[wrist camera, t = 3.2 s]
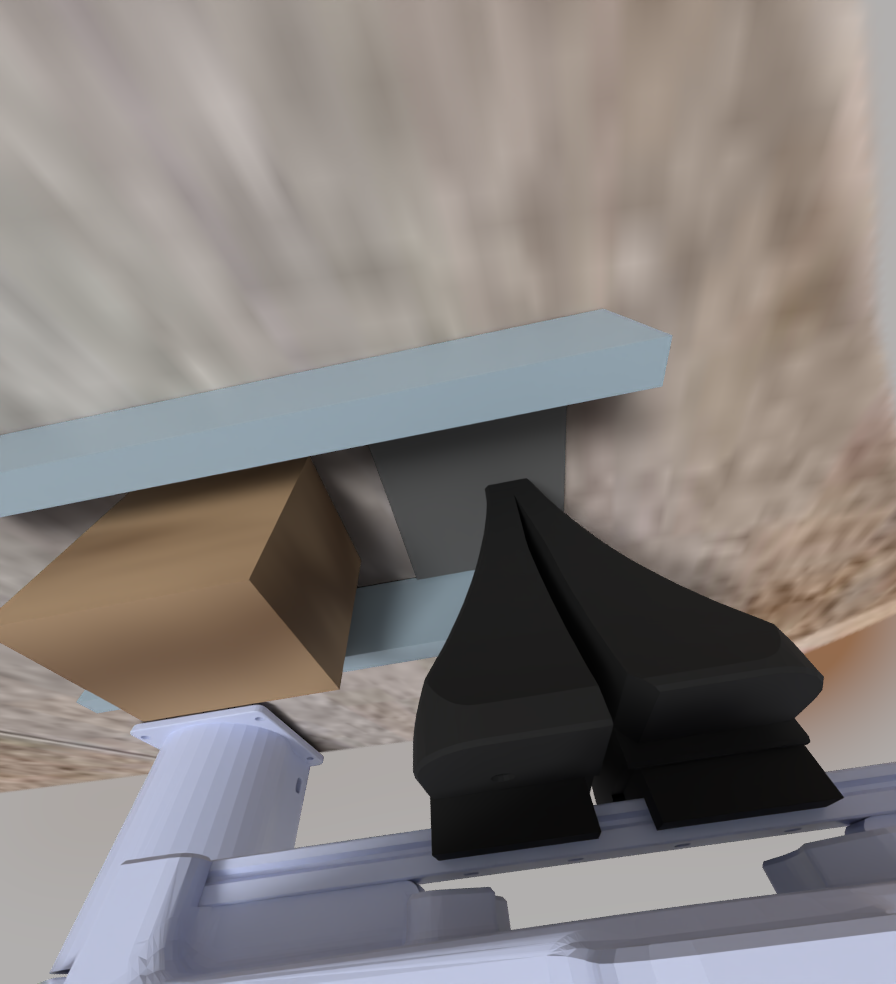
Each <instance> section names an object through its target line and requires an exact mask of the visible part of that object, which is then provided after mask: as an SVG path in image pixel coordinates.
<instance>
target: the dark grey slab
mask: <svg viewBox="0 0 896 984" xmlns="http://www.w3.org/2000/svg"><path fill="white" fill-rule="evenodd" d="M566 412H567V405H565V406H560V407H555V408H550V409H545V410H540V411H535V412H530V413H525V414H520V415H515V416H510V417H505V418H500V419H494V420H489V421H484V422H479V423H474V424H469V425H464V426H459V427H454V428H449V429H444V430H439V431H434V432H429V433H424V434H419V435H414V436H409V437H403V438H398V439H393V440H388V441H383V442H378V443H373V444H368V445H369V448H370V451H371V453H372V456H373V459H374V462H375V465H376V467H377V470H378V473H379V476H380V478H381V481H382V484H383V487H384V489H385V492H386V495H387V498H388V500H389V503H390V506H391V509H392V511H393V514H394V517H395V520H396V522H397V525H398V528H399V531H400V534H401V536H402V539H403V542H404V545H405V547H406V550H407V553H408V556H409V558H410V561H411V564H412V567H413V569H414V572H415V575H416V578H417V580H420V579H426V578H431V577H437V576H443V575H448V574H454V573H459V572H465V571H471V570H475V568H476V565H477V561H478V557H479V554H480V549H481V544H482V540H483V535H484V528H485V520H486V509H487V502H486V495H485V488H486V487H487V486H488V485H492V484H497V483H503V482H508V481H513V480H519V479H524V478H527V479H529V480H530V481H531V482H532V483H533V484H534V485H535V486H536V487H537V488H538V489H539V490H540V491H541V492H542V493H543V494H544V495H545V496H546V497H547V498H548V499H549V500H550V501H552V502H553V503H554V504H555V505H556V506H557V507H558V508H559V509H561V510H562V511H563V512H564V480H565V446H566Z"/></svg>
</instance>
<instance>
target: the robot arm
mask: <svg viewBox="0 0 896 984" xmlns="http://www.w3.org/2000/svg"><path fill="white" fill-rule="evenodd" d="M485 495H486V502H487V509H486V520H485V528H484V535H483V540H482V544H481V549H480V554H479V557H478V561H477V565H476V568H475V572H474V575H473V578H472V581H471V584H470V587H469V589H468V592H467V595H466V597H465V600H464V603H463V605H462V608H461V610H460V612H459V614H458V617H457V619H456V621H455V623H454V625H453V627H452V629H451V632H450V634H449V636H448V638H447V640H446V642H445V644H444V646H443V648H442V650H441V651H440V653H439V655H438V657H437V659H436V660H435V662H434V664H433V666H432V668H431V669H430V671H429V673H428V675H427V677H426V678H425V680H424V684H423V688H422V692H421V696H420V700H419V705H418V710H417V714H416V721H415V728H414V738H413V773H414V776H415V778H416V779H417V781H418V782H419V783H420V784H421V786H422V787H423V788H424V790H425V791H426V792H427V793H428V795H429V796H430V800H431V801H430V804H431V829H425V830H419V831H411V832H404V833H397V834H390V835H383V836H376V837H369V838H362V839H355V840H348V841H341V842H334V843H327V844H320V845H314V846H306V847H299V848H294V845H295V840H296V835H297V830H298V825H299V820H300V815H301V810H302V805H303V800H304V795H305V790H306V785H307V780H308V775H309V770H310V766H316V765H320V764H322V763H323V759H324V757H323V755H322V754H320V753H319V752H318V751H317V750H316V749H314V748H313V747H312V746H311V745H310V744H309V743H307V742H306V741H305V740H304V739H303V738H301V737H300V736H299V735H298V734H297V733H296V732H294V731H293V730H292V729H291V728H290V727H288V726H287V725H286V724H285V723H284V722H283V721H281V720H280V719H279V718H278V717H277V716H275V715H274V714H273V713H272V712H271V711H270V710H268V709H267V708H266V707H265V706H262V705H250V706H244V707H238V708H232V709H225V710H219V711H213V712H207V713H201V714H195V715H189V716H183V717H177V718H171V719H165V720H159V721H153V722H146V723H140V724H136V725H135V726H134V727H133V728H132V730H131V732H130V733H131V735H132V736H134V737H136V738H138V739H140V740H142V741H144V742H146V743H148V744H150V745H152V746H154V747H156V748H158V749H160V752H159V754H158V756H157V758H156V760H155V762H154V764H153V766H152V768H151V770H150V772H149V774H148V776H147V778H146V780H145V782H144V784H143V786H142V788H141V790H140V792H139V794H138V796H137V798H136V800H135V802H134V804H133V806H132V808H131V810H130V812H129V814H128V816H127V818H126V820H125V822H124V824H123V826H122V828H121V830H120V832H119V834H118V836H117V838H116V840H115V842H114V844H113V846H112V848H111V850H110V852H109V854H108V856H107V858H106V860H105V862H104V864H103V866H102V868H101V870H100V872H99V874H98V876H97V878H96V880H95V882H94V884H93V887H92V888H91V891H90V892H89V894H88V897H87V898H86V900H85V902H84V904H83V907H82V908H81V910H80V912H79V914H78V916H77V918H76V921H75V923H74V925H73V927H72V929H71V931H70V933H69V935H68V937H67V939H66V941H65V943H64V945H63V947H62V949H61V951H60V953H59V955H58V957H57V959H56V961H55V963H54V965H53V967H52V969H51V971H50V974H68V976H67V977H61V978H51V979H49V980H46V981H43V982H41V983H38V984H896V762H891V763H884V764H877V765H870V766H864V767H856V768H849V769H843V770H836V771H828V772H824V770H823V769H822V768H821V766H820V765H819V764H818V763H817V761H816V760H815V758H814V757H813V756H812V754H811V753H810V752H809V751H808V749H807V748H806V747H805V745H807V744H808V743H810V739H809V736H808V735H807V733H806V732H805V731H804V730H803V728H802V727H801V726H800V725H799V724H798V722H797V721H796V720H795V717H796V716H797V715H798V714H799V713H800V712H802V710H804V709H805V708H806V707H807V706H808V705H809V704H810V703H811V702H812V701H813V700H814V699H815V698H816V697H817V696H818V695H819V693H820V692H821V691H822V688H823V680H824V676H823V675H822V674H821V673H820V672H819V671H818V670H817V669H816V668H815V667H814V665H813V664H812V663H811V662H810V661H809V660H808V659H807V658H806V657H805V655H804V654H803V653H802V652H801V651H800V650H799V649H798V647H797V646H796V645H795V644H794V643H793V642H792V641H791V640H790V639H789V638H788V637H787V636H786V635H785V634H784V633H783V632H782V631H780V630H779V629H778V628H777V627H776V626H775V625H774V624H772V623H769V622H767V621H764V620H762V619H759V618H757V617H754V616H752V615H749V614H746V613H744V612H741V611H739V610H736V609H734V608H731V607H729V606H726V605H723V604H721V603H718V602H716V601H714V600H711V599H709V598H707V597H705V596H702V595H700V594H698V593H696V592H693V591H691V590H689V589H687V588H685V587H682V586H680V585H678V584H676V583H674V582H672V581H670V580H668V579H666V578H664V577H662V576H660V575H658V574H656V573H655V572H653V571H651V570H649V569H647V568H645V567H643V566H641V565H639V564H637V563H636V562H634V561H632V560H631V559H629V558H627V557H625V556H624V555H622V554H621V553H619V552H617V551H616V550H614V549H613V548H611V547H610V546H608V545H607V544H605V543H604V542H602V541H601V540H599V539H598V538H596V537H595V536H594V535H592V534H591V533H590V532H588V531H587V530H586V529H584V528H583V527H581V526H580V525H579V524H578V523H576V522H575V521H574V520H573V519H571V518H570V517H569V516H568V515H567V514H565V513H564V512H563V511H562V510H561V509H559V508H558V507H557V506H556V505H555V504H554V503H553V502H552V501H550V500H549V499H548V498H547V497H546V496H545V495H544V494H543V493H542V492H541V491H540V490H539V489H538V488H537V487H536V486H535V485H534V484H533V483H532V482H531V481H530V480H529V479H527V478H524V479H519V480H513V481H508V482H503V483H497V484H492V485H488V486H487V487H486V488H485ZM591 786H592V789H593V792H594V796H595V799H596V803H597V805H593V803H592V800H591V796H590V790H591ZM844 826H847V827H846V830H845V835H844V836H839V837H835V838H830V839H825V840H820V841H815V842H810V843H806V844H804V845H802V846H801V847H800V848H799V849H798V850H796V851H793V852H791V853H788V854H786V855H783V856H780V857H777V858H773V859H770V860H767V861H764V862H763V869H764V871H765V873H766V875H767V876H768V878H769V880H770V882H771V884H772V886H773V887H774V889H775V891H776V893H777V894H773V895H765V896H757V897H749V898H741V899H733V900H726V901H718V902H710V903H703V904H694V905H687V906H679V907H672V908H665V909H657V910H650V911H642V912H635V913H628V914H621V915H613V916H606V917H600V918H592V919H585V920H578V921H571V922H564V923H557V924H550V925H543V926H536V927H530V928H523V929H516V930H511V929H510V921H509V914H508V907H507V901H506V900H505V899H504V898H503V897H500V896H495V892H494V891H493V890H492V889H491V888H490V887H481V888H463V889H447V890H446V889H445V890H432V891H425V890H424V889H423V888H422V887H421V886H420V885H419V884H426V883H432V882H441V881H448V880H455V879H463V878H469V877H477V876H484V875H492V874H499V873H506V872H514V871H521V870H528V869H536V868H543V867H550V866H558V865H565V864H572V863H580V862H587V861H595V860H601V859H609V858H616V857H623V856H631V855H639V854H646V853H653V852H660V851H668V850H675V849H683V848H690V847H698V846H705V845H712V844H720V843H726V842H734V841H742V840H749V839H756V838H763V837H770V836H778V835H786V834H792V833H800V832H808V831H814V830H822V829H829V828H837V827H844Z"/></svg>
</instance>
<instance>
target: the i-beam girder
mask: <svg viewBox="0 0 896 984" xmlns="http://www.w3.org/2000/svg"><path fill="white" fill-rule="evenodd" d="M671 340H672V335H670V334H668V333H665V332H662V331H660V330H657V329H655V328H652V327H650V326H647V325H644V324H642V323H639V322H637V321H634V320H632V319H629V318H626V317H624V316H621V315H619V314H616V313H613V312H611V311H608V310H606V309H600V310H595V311H590V312H585V313H581V314H576V315H571V316H566V317H562V318H557V319H552V320H547V321H543V322H538V323H533V324H528V325H523V326H519V327H514V328H509V329H504V330H500V331H495V332H490V333H485V334H481V335H476V336H471V337H466V338H462V339H457V340H452V341H447V342H442V343H438V344H433V345H428V346H423V347H419V348H414V349H409V350H404V351H400V352H395V353H390V354H385V355H380V356H376V357H371V358H366V359H361V360H357V361H352V362H347V363H342V364H338V365H333V366H328V367H323V368H318V369H314V370H309V371H304V372H299V373H295V374H290V375H285V376H280V377H276V378H271V379H266V380H261V381H257V382H252V383H247V384H242V385H237V386H233V387H228V388H223V389H218V390H214V391H209V392H204V393H199V394H195V395H190V396H185V397H180V398H175V399H171V400H166V401H161V402H156V403H152V404H147V405H142V406H137V407H133V408H128V409H123V410H118V411H114V412H109V413H104V414H99V415H94V416H90V417H85V418H80V419H75V420H71V421H66V422H61V423H56V424H52V425H47V426H42V427H37V428H32V429H28V430H23V431H18V432H13V433H9V434H4V435H0V517H4V516H9V515H14V514H19V513H24V512H29V511H34V510H40V509H45V508H50V507H55V506H60V505H65V504H70V503H75V502H80V501H85V500H90V499H95V498H100V497H105V496H110V495H115V494H120V493H125V492H131V491H136V490H141V489H146V488H151V487H156V486H161V485H166V484H171V483H176V482H181V481H186V480H191V479H196V478H201V477H206V476H211V475H216V474H222V473H227V472H232V471H237V470H242V469H247V468H252V467H257V466H262V465H267V464H272V463H277V462H282V461H287V460H292V459H297V458H302V457H307V456H312V455H318V454H323V453H328V452H333V451H338V450H343V449H348V448H353V447H358V446H363V445H368V444H373V443H378V442H383V441H388V440H393V439H398V438H403V437H409V436H414V435H419V434H424V433H429V432H434V431H439V430H444V429H449V428H454V427H459V426H464V425H469V424H474V423H479V422H484V421H489V420H494V419H500V418H505V417H510V416H515V415H520V414H525V413H530V412H535V411H540V410H545V409H550V408H555V407H560V406H565V405H570V404H575V403H580V402H585V401H590V400H596V399H601V398H606V397H611V396H616V395H621V394H626V393H631V392H636V391H641V390H646V389H651V388H656V387H661V386H662V385H663V380H664V375H665V370H666V365H667V360H668V355H669V350H670V345H671ZM474 572H475V570H471V571H465V572H459V573H454V574H448V575H443V576H437V577H431V578H426V579H420V580H417V578H412V579H406V580H401V581H395V582H389V583H384V584H378V585H373V586H367V587H361V588H357V589H356V595H355V601H354V607H353V613H352V619H351V624H350V630H349V636H348V642H347V648H346V654H345V660H344V666H343V672H347V671H353V670H359V669H365V668H371V667H377V666H383V665H389V664H395V663H401V662H407V661H413V660H419V659H425V658H431V657H437V656H438V655H439V653H440V651H441V650H442V648H443V646H444V644H445V642H446V640H447V638H448V636H449V634H450V632H451V629H452V627H453V625H454V623H455V621H456V619H457V617H458V614H459V612H460V610H461V608H462V605H463V603H464V600H465V597H466V595H467V592H468V589H469V587H470V584H471V581H472V578H473V575H474ZM77 703H79V704H80V705H82V706H84V707H86V708H88V709H90V710H92V711H94V712H96V713H101V712H107V711H113V710H119V709H120V708H118V707H116V706H114V705H113V704H111V703H109V702H107V701H105V700H104V699H102V698H100V697H98V696H96V695H94V694H93V693H91V692H89V691H87V690H85V691H84V692H83V694H82V695H81V696H80V698H79V699H78V701H77Z"/></svg>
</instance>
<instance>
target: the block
mask: <svg viewBox="0 0 896 984" xmlns="http://www.w3.org/2000/svg"><path fill="white" fill-rule="evenodd" d="M360 565H361V560H360V558H359V556H358V553H357V551H356V549H355V547H354V545H353V543H352V541H351V539H350V537H349V535H348V533H347V531H346V529H345V527H344V525H343V523H342V521H341V519H340V517H339V515H338V513H337V511H336V509H335V507H334V505H333V503H332V501H331V499H330V497H329V495H328V493H327V491H326V489H325V487H324V485H323V483H322V481H321V479H320V477H319V475H318V473H317V471H316V468H315V466H314V464H313V462H312V460H311V458H310V456H307V457H302V458H297V459H292V460H287V461H282V462H277V463H272V464H267V465H262V466H257V467H252V468H247V469H242V470H237V471H232V472H227V473H222V474H216V475H211V476H206V477H201V478H196V479H191V480H186V481H181V482H176V483H171V484H166V485H161V486H156V487H151V488H146V489H141V490H136V491H131V492H129V493H128V494H127V495H126V496H125V497H124V498H123V499H121V500H120V501H119V502H118V503H117V504H116V505H115V506H114V507H113V508H111V509H110V510H109V511H108V512H107V513H106V514H105V515H104V516H103V517H101V518H100V519H99V520H98V521H97V522H96V523H95V524H94V525H93V526H91V527H90V528H89V529H88V530H87V531H86V532H85V533H84V534H83V535H81V536H80V537H79V538H78V539H77V540H76V541H75V542H74V543H73V544H71V545H70V546H69V547H68V548H67V549H66V550H65V551H64V552H62V553H61V554H60V555H59V556H58V557H57V558H56V559H55V560H54V561H52V562H51V563H50V564H49V565H48V566H47V567H46V568H45V569H44V570H42V571H41V572H40V573H39V574H38V575H37V576H36V577H35V578H34V579H32V580H31V581H30V582H29V583H28V584H27V585H26V586H25V587H24V588H22V589H21V590H20V591H19V592H18V593H17V594H16V595H15V596H14V597H12V598H11V599H10V600H9V601H8V602H7V603H6V604H5V605H3V606H2V607H1V608H0V643H2V644H4V645H5V646H7V647H9V648H11V649H13V650H14V651H16V652H18V653H20V654H22V655H24V656H25V657H27V658H29V659H31V660H33V661H34V662H36V663H38V664H40V665H42V666H44V667H45V668H47V669H49V670H51V671H53V672H54V673H56V674H58V675H60V676H62V677H64V678H65V679H67V680H69V681H71V682H73V683H74V684H76V685H78V686H80V687H82V688H84V689H85V690H87V691H89V692H91V693H93V694H94V695H96V696H98V697H100V698H102V699H104V700H105V701H107V702H109V703H111V704H113V705H114V706H116V707H118V708H120V709H122V710H124V711H125V712H127V713H129V714H131V715H133V716H134V717H136V718H138V719H140V720H142V721H144V722H145V721H151V720H157V719H163V718H169V717H175V716H181V715H188V714H194V713H200V712H206V711H212V710H218V709H224V708H230V707H236V706H242V705H248V704H254V703H260V702H266V701H272V700H278V699H285V698H291V697H297V696H303V695H309V694H315V693H321V692H327V691H333V690H339V689H340V684H341V678H342V672H343V666H344V660H345V654H346V648H347V642H348V636H349V630H350V624H351V619H352V613H353V607H354V601H355V595H356V589H357V583H358V577H359V571H360Z"/></svg>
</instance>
